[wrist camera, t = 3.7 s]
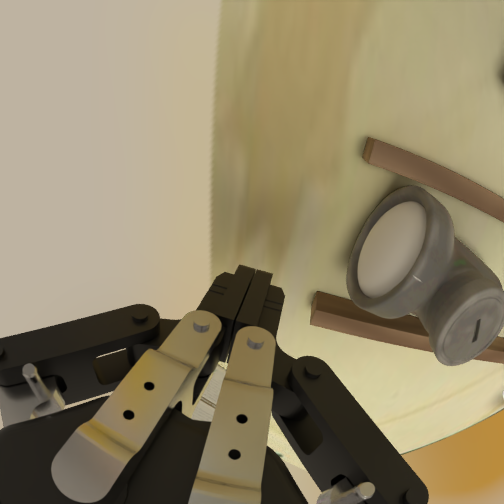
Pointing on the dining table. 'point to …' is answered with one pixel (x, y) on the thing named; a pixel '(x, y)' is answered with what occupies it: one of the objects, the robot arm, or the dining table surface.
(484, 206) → the guide rail
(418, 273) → the pipe fitting
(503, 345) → the guide rail
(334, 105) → the dining table surface
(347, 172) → the dining table surface
